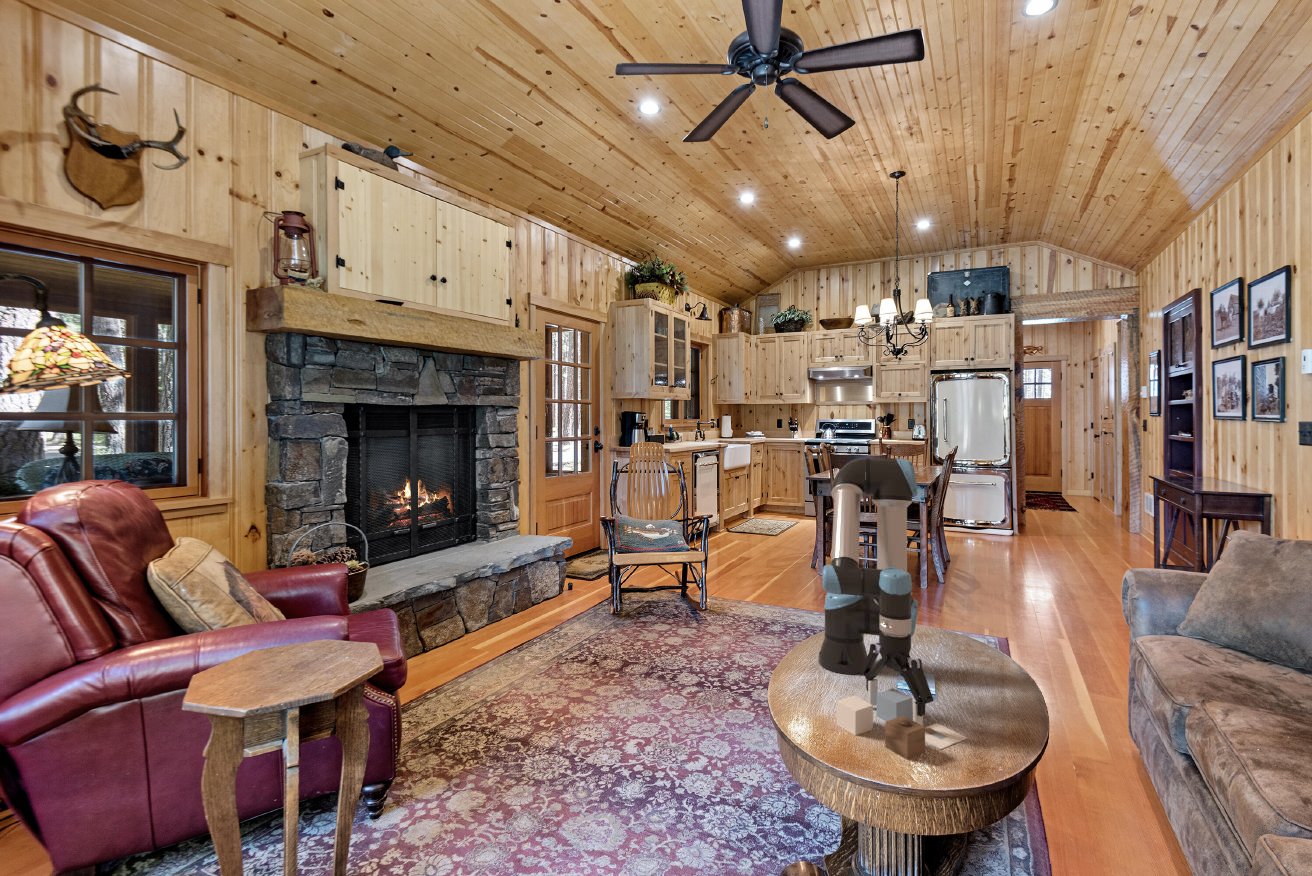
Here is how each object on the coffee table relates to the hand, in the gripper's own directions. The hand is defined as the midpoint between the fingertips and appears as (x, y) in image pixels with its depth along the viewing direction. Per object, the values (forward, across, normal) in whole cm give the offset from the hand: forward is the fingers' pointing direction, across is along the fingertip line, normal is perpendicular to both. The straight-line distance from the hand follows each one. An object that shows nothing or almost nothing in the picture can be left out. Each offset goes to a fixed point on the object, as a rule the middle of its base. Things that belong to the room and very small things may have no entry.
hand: (894, 716), depth 150 cm
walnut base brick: (+1, +11, -10) cm, 15 cm away
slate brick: (+1, 0, 0) cm, 1 cm away
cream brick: (+1, -2, -12) cm, 12 cm away
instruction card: (+1, +11, +2) cm, 11 cm away
